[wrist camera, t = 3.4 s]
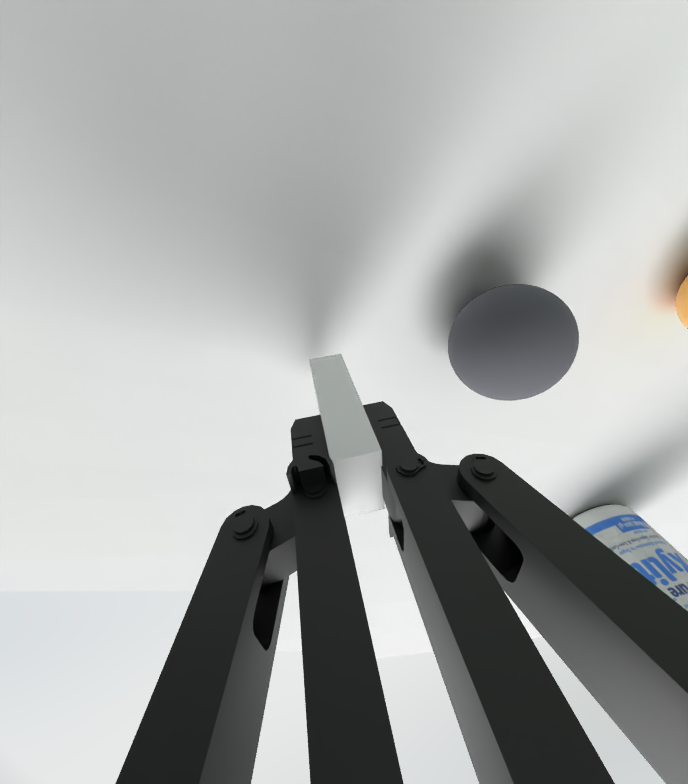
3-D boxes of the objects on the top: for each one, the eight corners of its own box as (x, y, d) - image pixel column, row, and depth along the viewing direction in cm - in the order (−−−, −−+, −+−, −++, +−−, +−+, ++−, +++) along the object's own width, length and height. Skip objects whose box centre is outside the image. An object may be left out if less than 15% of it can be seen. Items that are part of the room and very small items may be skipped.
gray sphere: (412, 319, 16) (466, 368, 12) (505, 248, 15) (604, 272, 11) (454, 383, 19) (510, 442, 15) (534, 328, 18) (621, 373, 14)
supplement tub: (622, 487, 31) (849, 678, 19) (629, 523, 36) (812, 692, 24) (534, 534, 33) (688, 736, 20) (553, 562, 38) (685, 738, 26)
